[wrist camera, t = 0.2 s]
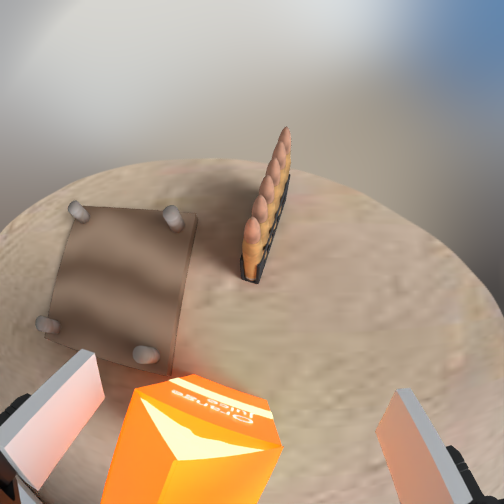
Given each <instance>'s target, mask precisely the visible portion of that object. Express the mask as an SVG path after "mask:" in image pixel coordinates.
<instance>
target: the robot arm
mask: <svg viewBox="0 0 504 504" xmlns="http://www.w3.org/2000/svg"><path fill="white" fill-rule="evenodd" d="M104 399H105V396H104V392H103V388H102V384H101V380H100V375H99V371H98V366H97V361H96V356H95V353H93V352H90V351H87V350H84V349H81V350H80V351H79V352H78V353H76V354H75V355H74V356H73V357H72V358H71V359H70V360H69V361H68V362H67V363H65V364H64V365H63V366H62V367H61V368H60V369H59V370H58V371H57V372H56V373H55V374H54V375H53V376H51V377H50V378H49V379H48V380H47V381H46V382H45V383H44V384H43V385H42V386H41V387H40V388H39V389H38V390H37V391H36V392H35V393H34V394H33V395H32V396H31V395H29V394H28V393H27V394H25V395H23V396H20V397H18V398H17V399H16V400H15V401H14V402H13V403H12V404H11V405H10V406H8V407H7V408H6V409H5V412H2V413H1V414H0V504H21V500H20V495H19V489H18V482H17V479H16V477H15V476H16V475H17V473H18V475H19V476H20V477H21V478H22V479H23V480H24V481H25V482H26V483H27V484H29V485H30V486H32V487H33V488H35V489H36V490H37V491H39V489H40V488H41V486H42V485H43V483H44V482H45V480H46V479H47V478H48V476H49V475H50V473H51V472H52V470H53V469H54V467H55V466H56V465H57V463H58V462H59V460H60V459H61V458H62V456H63V455H64V453H65V452H66V451H67V449H68V448H69V446H70V445H71V444H72V442H73V441H74V439H75V438H76V437H77V435H78V434H79V433H80V431H81V430H82V428H83V427H84V426H85V424H86V423H87V422H88V420H89V419H90V418H91V416H92V415H93V413H94V412H95V411H96V409H97V408H98V407H99V405H100V404H101V403H102V401H103V400H104ZM375 432H376V434H377V437H378V440H379V442H380V445H381V448H382V451H383V453H384V456H385V459H386V462H387V465H388V467H389V470H390V473H391V476H392V479H393V482H394V485H395V488H396V491H397V494H398V497H399V500H400V503H401V504H504V499H500V500H497V499H496V498H495V497H493V496H484V495H483V493H482V492H481V490H480V488H479V486H478V484H477V482H476V481H475V479H474V477H473V475H472V473H471V471H470V470H468V466H467V464H466V463H464V459H463V457H462V456H461V454H460V452H459V451H458V450H456V449H455V448H454V447H453V446H452V445H451V446H447V447H445V445H444V444H443V442H442V440H441V438H440V437H439V435H438V433H437V431H436V430H435V428H434V426H433V425H432V423H431V421H430V420H429V418H428V416H427V415H426V413H425V411H424V410H423V408H422V406H421V405H420V403H419V401H418V400H417V398H416V397H415V395H414V393H413V392H412V390H411V389H410V388H404V389H396V390H395V393H394V395H393V397H392V399H391V401H390V403H389V405H388V407H387V409H386V412H385V414H384V415H383V417H382V419H381V421H380V423H379V425H378V427H377V429H376V431H375Z"/></svg>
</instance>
